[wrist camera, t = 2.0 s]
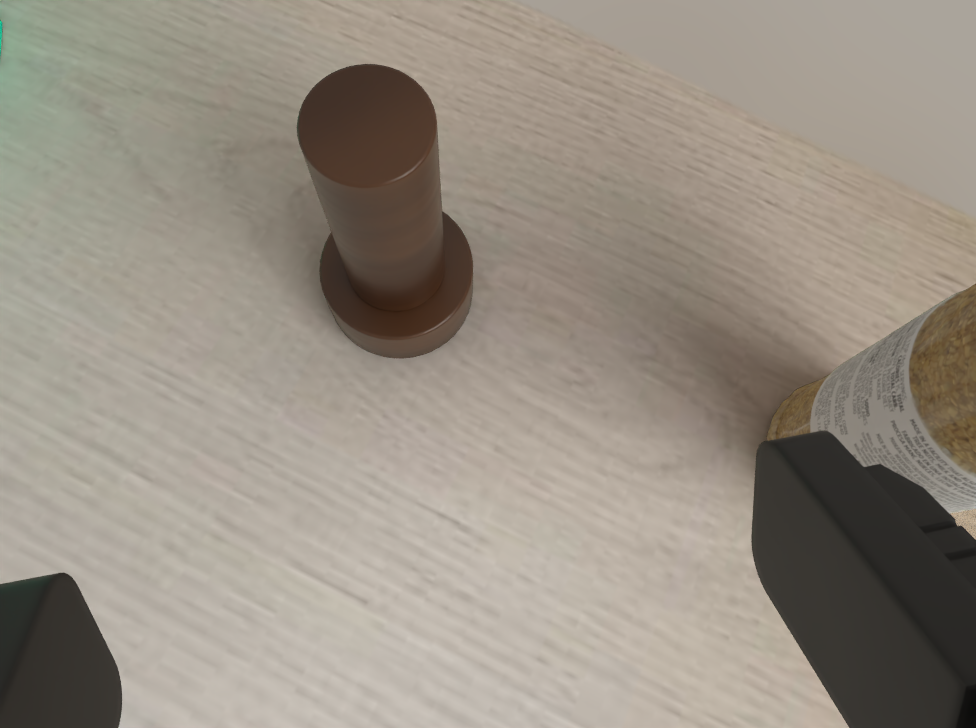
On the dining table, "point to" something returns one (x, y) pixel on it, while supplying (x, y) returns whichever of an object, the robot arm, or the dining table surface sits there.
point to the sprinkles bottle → (904, 403)
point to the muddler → (384, 212)
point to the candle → (0, 34)
